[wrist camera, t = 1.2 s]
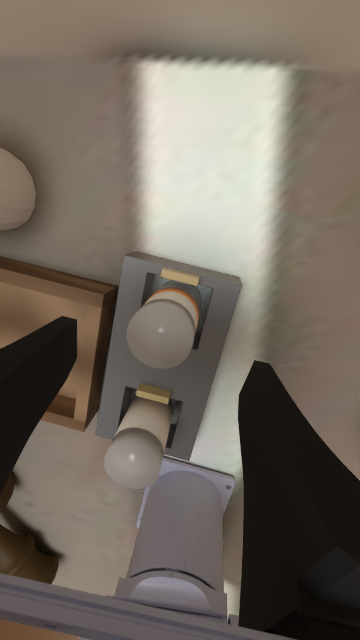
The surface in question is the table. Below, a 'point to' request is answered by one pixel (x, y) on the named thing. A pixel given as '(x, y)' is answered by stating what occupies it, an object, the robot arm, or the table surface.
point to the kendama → (23, 550)
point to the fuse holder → (175, 382)
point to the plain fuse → (139, 443)
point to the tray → (49, 304)
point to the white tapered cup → (15, 192)
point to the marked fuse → (165, 325)
